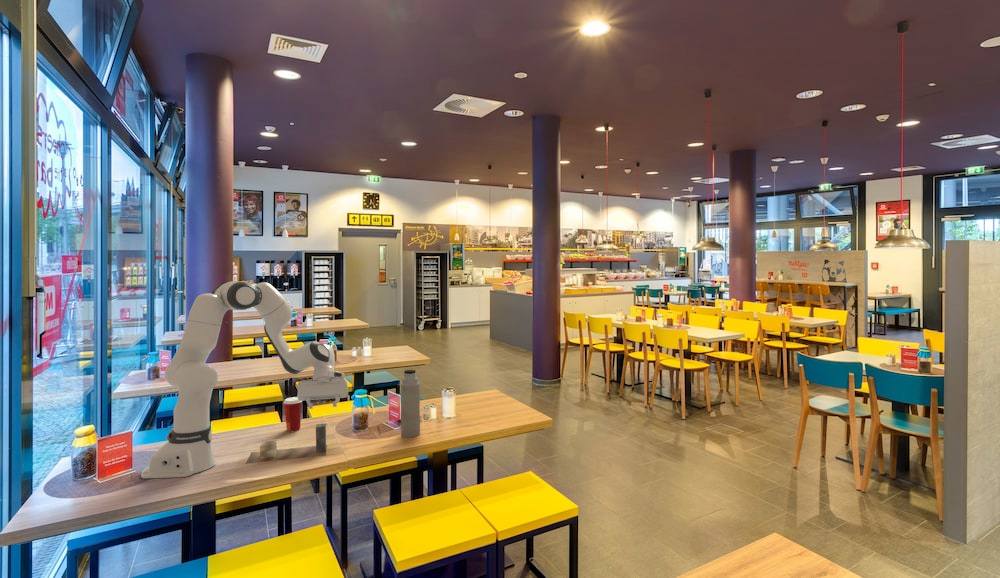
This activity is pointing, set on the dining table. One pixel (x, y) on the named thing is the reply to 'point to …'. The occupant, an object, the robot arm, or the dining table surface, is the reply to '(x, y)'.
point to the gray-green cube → (268, 449)
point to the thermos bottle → (410, 404)
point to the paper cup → (292, 413)
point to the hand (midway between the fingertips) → (322, 407)
